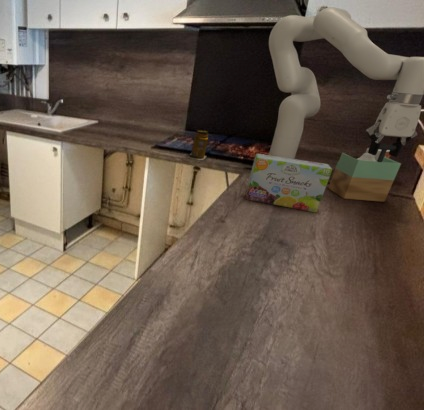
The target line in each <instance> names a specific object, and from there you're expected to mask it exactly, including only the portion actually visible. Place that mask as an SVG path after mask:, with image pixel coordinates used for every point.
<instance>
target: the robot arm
mask: <svg viewBox="0 0 424 410" xmlns="http://www.w3.org/2000/svg"><path fill="white" fill-rule="evenodd" d="M268 37H269V38H268V49H269V53H270V56H271V57H270V58H271V60H272V65H273V70H274V75H275V79H276V80H275V81H276V84H277V87H278V89H279V91H281V92H283V93H291V95H289V96H287V97H285V98H284V99H283V100H282V101H281V103H280V105H279V108H278V114H277V115H278V116H277V122H276V126H275V130H274V134H273V138H272V141H271V145H270V149H269V152H268V155H270V156H277V157H284V158H291V159H296V155H297V151H298V149H299V146H300V142H301V139H302V135H303V132H304V126H305V125H304V124H305V119H310V118H312V117H314V116H316V115H317V114H318V113H319V111H320V109H321V105H322V103H321V97H320V93H319V88H318V84H317V79H316V76H315V74H314V72H313V71H312V70H311V69H310V68H308V67H305V66H301V64H300V61H299V54H298V52H297V49H296V47H295V45H294V42H300V43H301V42H310V41H316V40H322V39H325V40H326V41H327V42H329V44H331V45H332V46H333V47H335V48H336V49H337V50H338V51H340V52H341V53H342V55H343V56H344V57H345V58H346V60H347V61H348V62H349V63H350V64H351V65H352V66H353V67H354V68H356V69H357V70H358V71H359V72H360V73H362V74H363V75H364V76H366V77H367V78H368V79H371V80H375V81H391V80H392V81H393V80H395V81H396V82H395V84H394V87H393V89H392V91H391V94H388V95H387V96H386V99H387V100H388V101H387V102H386V103H385V104H384V105H383V107H382V108H381V111H380V112H379V113H378V116H377V118H376V120H375V123H374V124H373V125H371V126H369V127H368V128H367V129H365V132H366V134H367V136H368V139H370V145H369V147H368V148H369V151H368V153H369V154H372V155H376V154H377V152H378V149H379V147H380V145H381V143H380V142H381V141H382V140H383V139H384V137H395V142H392V144H391V145H394V146H396V150H390V152H389V155H391V156H392V157H394V158H397V157H398V156H399V154H400V153H401V152H400V151H401V150H402V147H403V146H406V143H408V142H409V141H410V140H412V139H413V138H415V137H417V136H418V132H417V130H416V129H417V126H418V123H419V119H420V116H421V111H422V105H420V103H421V101H422V100H423V97H424V56H410V57H409V56H403V55H398V54H389V53H387V52H386V51H384V50H383V49H382V48H380V47H379V46H378V45H376V44H375V43H373V42H372V40H371V39H370V38H369V36H368V31H367V29H366V28H365V27H363V26H362V25H361V24H360V23H358V22H356V21H355V20H354V19H352V16H351V14H350V13H349V11H347V10H346V9H343V8H338V7H334V6H333V7H332V6H330V7H329V6H328V7H326V8H323V9H321V10H320V11H319V12H317V13H316V15H314V16H308V17H307V16H303V15H296V14H290V15H286V16H284V17H282V18H280V19H279V20H278V21H277V22H276V23H275V25H274V26H273V27H272V29H271V31H270V34H269V36H268Z"/></svg>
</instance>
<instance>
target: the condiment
mask: <svg viewBox="0 0 424 410" xmlns="http://www.w3.org/2000/svg"><path fill="white" fill-rule="evenodd" d="M208 141H209V131H208V130H203V129H197V130H196V131H195V136H193V142H192V147H191V152H190V153H189V155H188V156H187V158H189V159H192V160H198V161H204V160H205V159H206V158H207V155H206V151H207V146H208Z"/></svg>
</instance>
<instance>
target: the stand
mask: <svg viewBox="0 0 424 410" xmlns="http://www.w3.org/2000/svg"><path fill="white" fill-rule="evenodd" d="M394 181H395V179H394V180H383V179H370V178H356V177H351V176H349V175H347V174H345V173H344V172H342V171H340V170H338V169H336V167H335V168H334V171H333V174H332V177H331V179H330V182H329V185H328V189H329V190H330V191H331V192H333V193H334V194H336V195H337V196H339V197H341V199H344V200H359V201H371V202H372V201H373V202H383V203H385V202H386V199H387V197H388V195H389V192H390V190H391V189H392V185H393V184H394Z"/></svg>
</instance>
